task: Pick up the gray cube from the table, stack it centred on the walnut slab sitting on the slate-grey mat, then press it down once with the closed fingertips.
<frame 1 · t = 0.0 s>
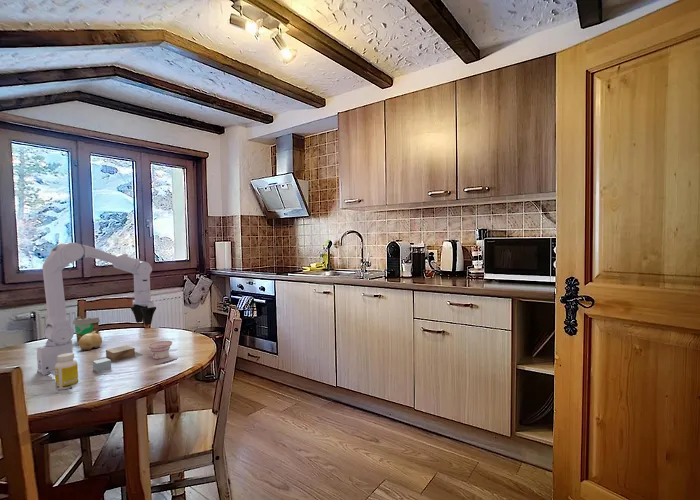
hand: (143, 323, 148), 10 cm above the table, tool pointing down, fingers open, 7 cm apart
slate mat: (120, 359, 134), on the table
supplement bottle: (67, 387, 110), on the table
teacup: (160, 360, 133), on the table
food container: (83, 340, 163), on the table
gray cube: (102, 372, 121), on the table
tan round lump: (90, 349, 149), on the table
walnut slab: (120, 356, 134), point 1 cm above the table, touching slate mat
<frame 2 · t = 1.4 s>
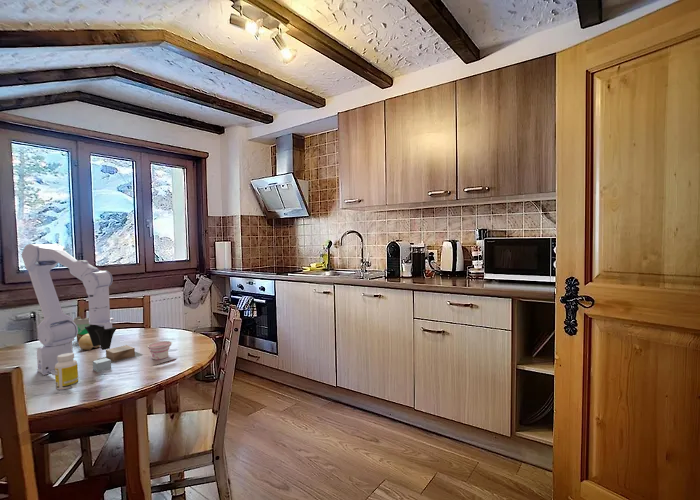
hand: (101, 347, 121), 8 cm above the table, tool pointing down, fingers open, 7 cm apart
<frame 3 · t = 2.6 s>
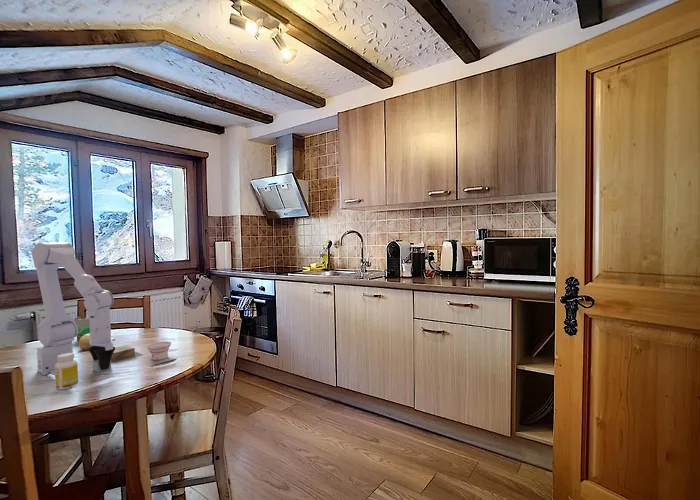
hand: (102, 367, 121), 1 cm above the table, tool pointing down, fingers closed on gray cube, 4 cm apart
gray cube: (102, 372, 121), on the table, touching gripper
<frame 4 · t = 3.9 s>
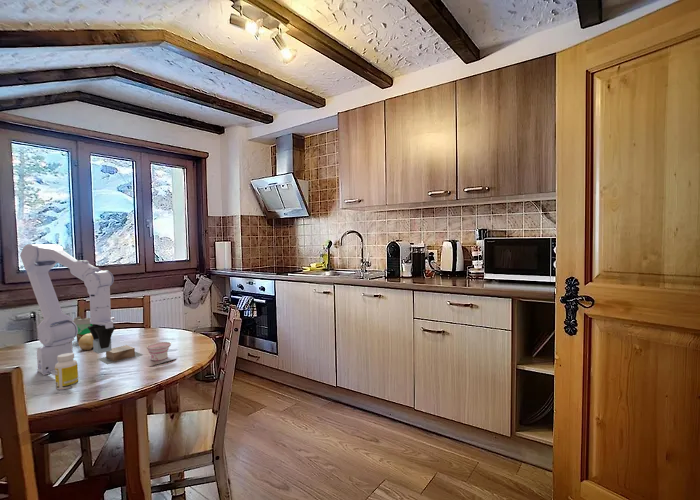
hand: (102, 346, 122), 8 cm above the table, tool pointing down, fingers closed on gray cube, 4 cm apart
gray cube: (102, 351, 122), point 7 cm above the table, touching gripper
when the fingers open (6 cm above the table, at t = 5.4 s): gray cube stays where it is, resting on walnut slab.
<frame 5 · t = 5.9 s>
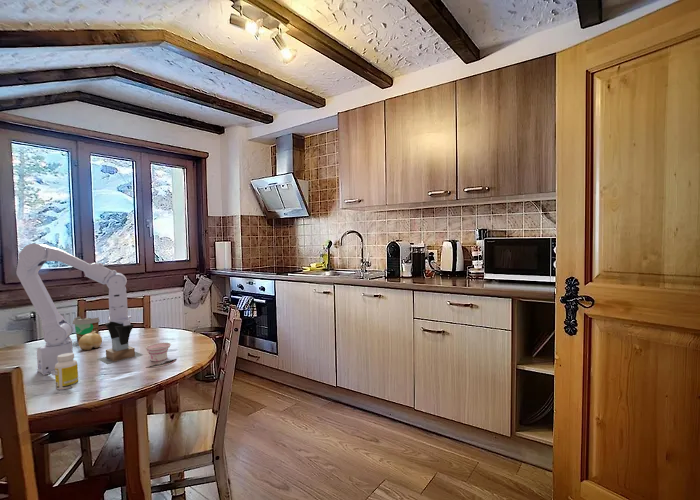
hand: (119, 342, 134), 6 cm above the table, tool pointing down, fingers open, 7 cm apart
gray cube: (120, 348, 134), point 4 cm above the table, touching walnut slab
walnut slab: (120, 356, 134), point 1 cm above the table, touching gray cube, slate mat
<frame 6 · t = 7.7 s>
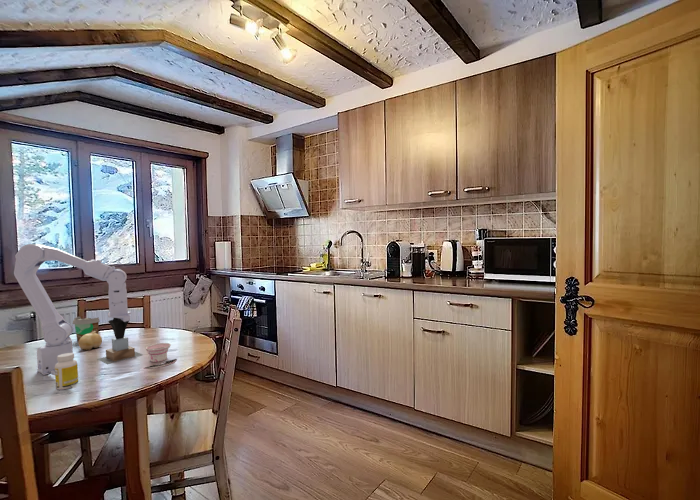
hand: (119, 338, 134), 8 cm above the table, tool pointing down, fingers closed, pressing on gray cube
gray cube: (120, 348, 134), point 4 cm above the table, touching gripper, walnut slab
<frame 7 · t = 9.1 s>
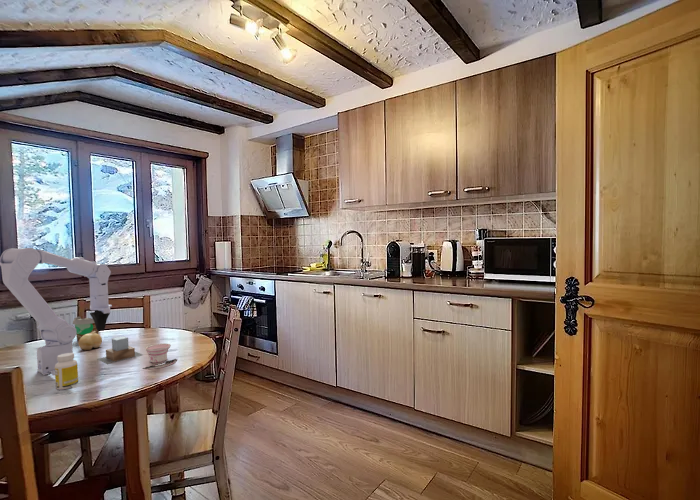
hand: (100, 330, 139), 10 cm above the table, tool pointing down, fingers closed
gray cube: (120, 348, 134), point 4 cm above the table, touching walnut slab
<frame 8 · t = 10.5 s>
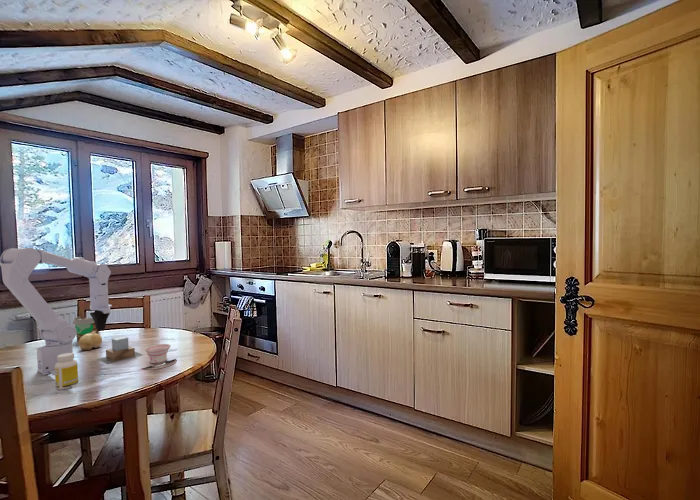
hand: (100, 330, 139), 10 cm above the table, tool pointing down, fingers closed
at the end: gray cube 0.1 cm off-centre on the walnut slab, point 3.0 cm above the walnut slab's base; gray cube tilted 0°; walnut slab moved 0.0 cm from its start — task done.
